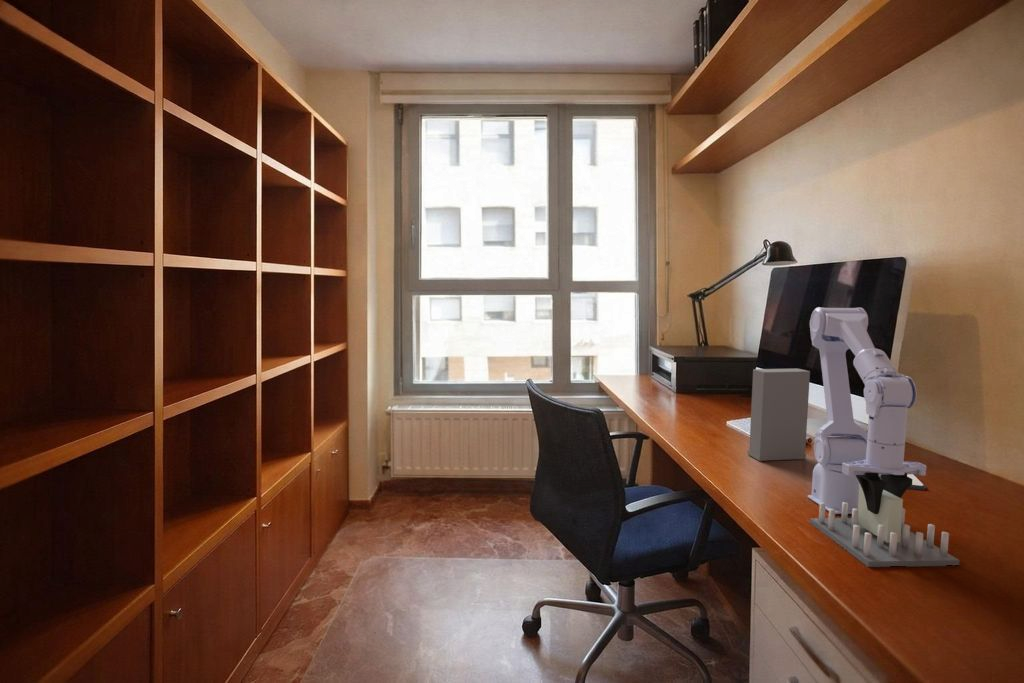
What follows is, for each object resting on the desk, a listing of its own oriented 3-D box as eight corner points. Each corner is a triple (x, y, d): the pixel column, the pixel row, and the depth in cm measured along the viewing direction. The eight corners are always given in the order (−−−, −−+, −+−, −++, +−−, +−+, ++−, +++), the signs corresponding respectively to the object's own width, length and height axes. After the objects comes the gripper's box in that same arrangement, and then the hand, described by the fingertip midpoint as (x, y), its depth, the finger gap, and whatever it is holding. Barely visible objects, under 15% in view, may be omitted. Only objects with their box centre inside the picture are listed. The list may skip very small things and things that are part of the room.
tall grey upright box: (791, 452, 153) (796, 367, 150) (805, 459, 147) (810, 371, 144) (746, 454, 151) (750, 368, 149) (759, 461, 145) (763, 372, 143)
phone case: (927, 493, 125) (904, 470, 139) (928, 487, 124) (904, 464, 139) (883, 488, 128) (865, 466, 142) (883, 482, 127) (865, 460, 142)
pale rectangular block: (857, 523, 103) (859, 483, 102) (869, 523, 103) (871, 483, 102) (887, 542, 95) (889, 499, 94) (900, 542, 95) (903, 499, 95)
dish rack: (809, 522, 107) (811, 499, 107) (886, 522, 108) (888, 498, 107) (868, 567, 90) (870, 539, 90) (958, 565, 91) (961, 538, 90)
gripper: (862, 447, 93) (857, 521, 94) (942, 447, 93) (936, 520, 95) (836, 436, 100) (832, 505, 101) (911, 436, 100) (905, 504, 102)
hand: (880, 511), depth 98 cm, fingers closed on pale rectangular block, 2 cm apart
